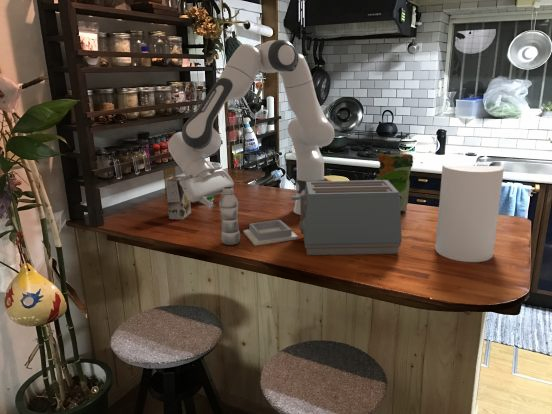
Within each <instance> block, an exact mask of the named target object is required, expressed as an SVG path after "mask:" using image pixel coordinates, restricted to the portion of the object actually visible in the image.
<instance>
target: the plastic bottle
mask: <svg viewBox="0 0 552 414" xmlns="http://www.w3.org/2000/svg"><path fill="white" fill-rule="evenodd" d="M221 194H222V196H221V197H220V199H219V203H218V204H219V205H218V206H219V211H220V214H221V215H220V216H221V236H220V238H221V241H222V243H223V244H224V245H227V246H233V245H237V244H239V242H241V233H240V230H239V229H240V227H239V221H238V220H239V219H238V217H239V216H238V212H239V201H238V198H237V197H236V196H235V192H234V186H233V187H223V192H222V193H221Z"/></svg>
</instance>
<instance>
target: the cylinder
mask: <svg viewBox="0 0 552 414" xmlns="http://www.w3.org/2000/svg"><path fill="white" fill-rule="evenodd" d="M504 170H505V169H504V166H503V165H442V167H441V179H440V180H441V181H440V189H439V190H440V193H439V203H438V204H439V205H438V212H437V225H436V226H437V227H436V235H435V236H436V238H435V251H436V253H438V254H439V255H440V256H442V257H444V258H447V259H450V260H453V261H458V262H465V263H480V262H485V261H490V260H491V259H492V258H493V257H494V250H495V241H496V237H497V236H496V234H497V225H498V217H499V209H500V204H501V203H500V202H501V193H502V187H503V177H504Z"/></svg>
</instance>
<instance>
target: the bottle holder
mask: <svg viewBox="0 0 552 414" xmlns="http://www.w3.org/2000/svg"><path fill="white" fill-rule="evenodd" d="M248 227H249V229H248V228H247V229H243V233H244V235H245V236H246V237H247V238H248V239H249V241H250V242H251V243H252V244H253V246H261V245H267V244H274V243H280V242H286V241H287V242H288V241H294V240H298V239H299V236H298V235H297V234H296V233H295V232H294V231H292V230H293V229H292V228H290V227H289V226H288V225H287V224H286V223H285V222H284V221H282V220H281V219H275V220H268V221H267V220H266V221H262V222H259V221H258V222H254V223H253V222H252V223H249V225H248Z"/></svg>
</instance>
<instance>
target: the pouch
mask: <svg viewBox="0 0 552 414" xmlns="http://www.w3.org/2000/svg"><path fill="white" fill-rule="evenodd" d="M376 156H377V158H378V163H379V167H377V168H378V170H379V173H378V174H377V176H376V180H388V181H389V182H390V183H391V184H392V185H393V186H394V187H395V188H396V190H397V191H398V192H399V197H400V213H402V212H406V211H407V207H408V203H409V191H410V184H411V183H410V174H411V172H412V171H411V170H412V168H413V166H414V165H413V164H414V159H413V158H414V156H413V155H412V154H409V153H405V154H397V153H395V152H393V153H392V154H388V153H386V154H384V153H382V152H378V153H376Z"/></svg>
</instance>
